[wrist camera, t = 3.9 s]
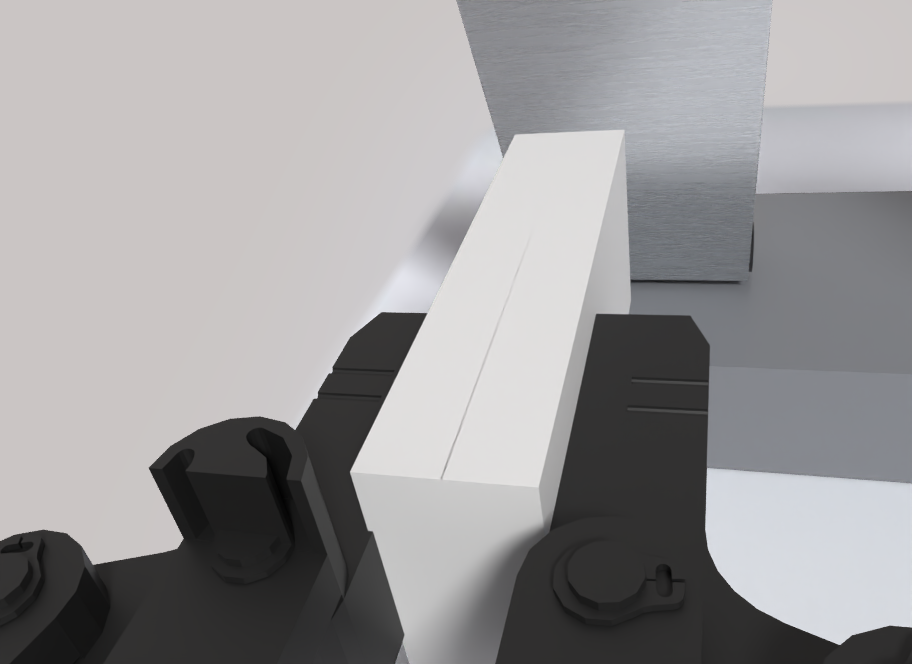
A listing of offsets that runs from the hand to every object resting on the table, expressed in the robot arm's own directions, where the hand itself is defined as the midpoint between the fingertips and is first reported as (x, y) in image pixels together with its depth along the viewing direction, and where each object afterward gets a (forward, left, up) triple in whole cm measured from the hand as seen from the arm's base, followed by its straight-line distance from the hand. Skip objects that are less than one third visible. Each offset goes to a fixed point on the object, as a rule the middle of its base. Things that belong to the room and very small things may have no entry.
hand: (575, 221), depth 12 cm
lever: (-6, -5, -6) cm, 10 cm away
